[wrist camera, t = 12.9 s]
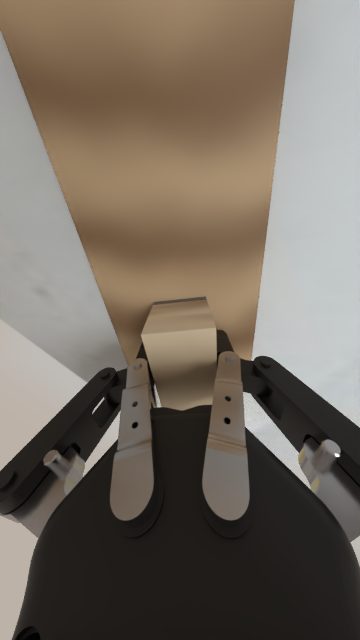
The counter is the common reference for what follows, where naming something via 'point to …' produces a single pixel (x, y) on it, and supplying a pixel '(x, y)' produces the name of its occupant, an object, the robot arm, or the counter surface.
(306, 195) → the counter surface
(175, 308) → the block
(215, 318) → the board
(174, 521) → the robot arm
